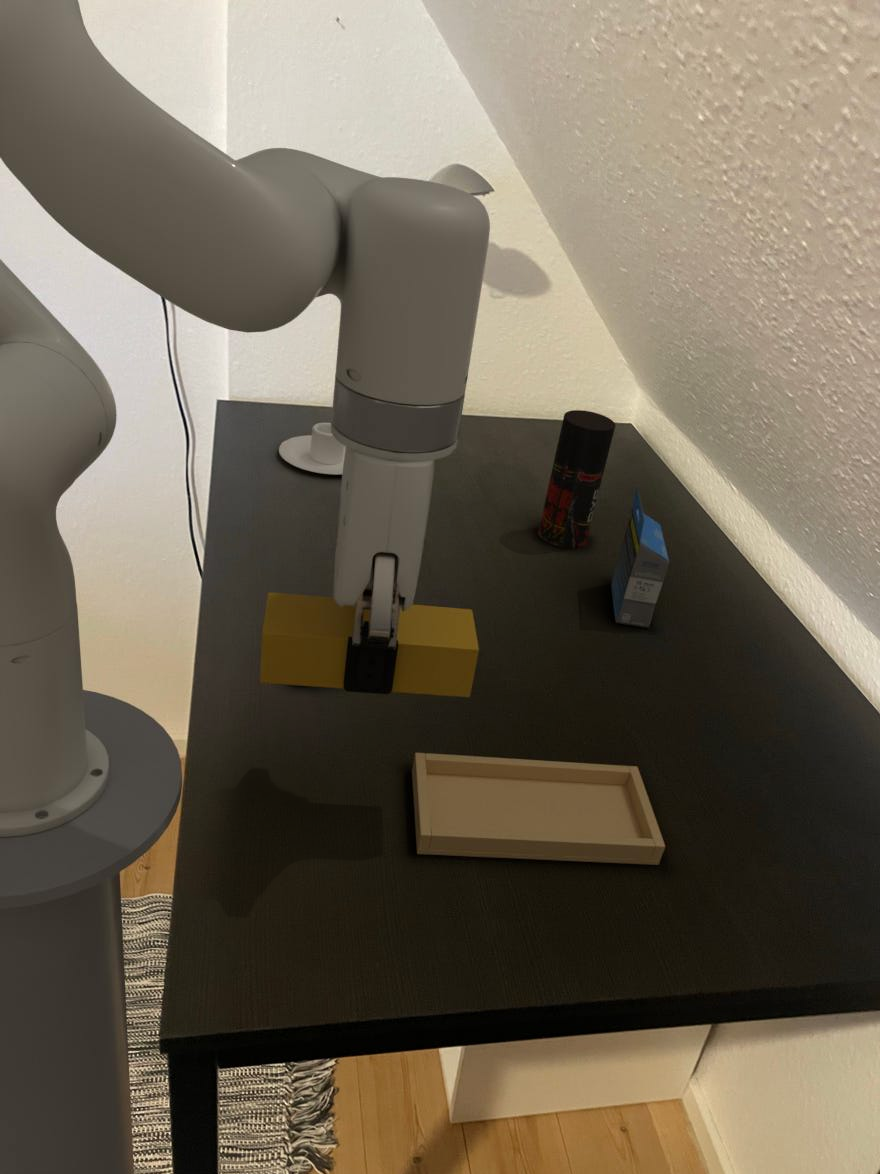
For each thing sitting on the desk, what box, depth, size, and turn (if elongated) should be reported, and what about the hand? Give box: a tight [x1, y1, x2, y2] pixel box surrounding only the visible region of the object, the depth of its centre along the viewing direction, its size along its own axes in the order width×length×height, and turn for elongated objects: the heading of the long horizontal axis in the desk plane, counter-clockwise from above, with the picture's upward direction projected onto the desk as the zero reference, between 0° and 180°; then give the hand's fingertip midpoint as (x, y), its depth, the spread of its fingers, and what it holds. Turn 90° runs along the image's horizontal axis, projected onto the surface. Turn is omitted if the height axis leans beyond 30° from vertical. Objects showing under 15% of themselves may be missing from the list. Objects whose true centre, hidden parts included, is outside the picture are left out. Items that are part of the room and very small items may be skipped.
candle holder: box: [278, 422, 346, 476], centre depth 125 cm, size 12×12×4 cm
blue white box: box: [610, 485, 670, 629], centre depth 104 cm, size 9×4×12 cm, turn 176°
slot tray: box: [411, 752, 666, 866], centre depth 76 cm, size 19×9×2 cm, turn 95°
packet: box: [259, 591, 480, 698], centre depth 66 cm, size 5×14×4 cm, turn 95°
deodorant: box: [537, 409, 616, 550], centre depth 115 cm, size 6×6×15 cm
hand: (367, 662), depth 67 cm, fingers closed on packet, 5 cm apart
